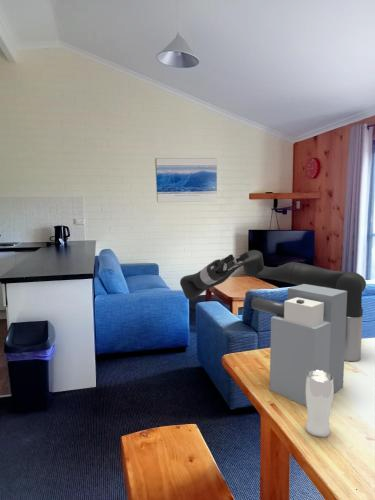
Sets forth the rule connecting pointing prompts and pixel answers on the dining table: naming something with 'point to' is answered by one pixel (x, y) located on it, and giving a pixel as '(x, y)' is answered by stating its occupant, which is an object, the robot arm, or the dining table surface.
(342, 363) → the stepped stand
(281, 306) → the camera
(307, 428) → the beer glass
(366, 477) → the dining table surface
